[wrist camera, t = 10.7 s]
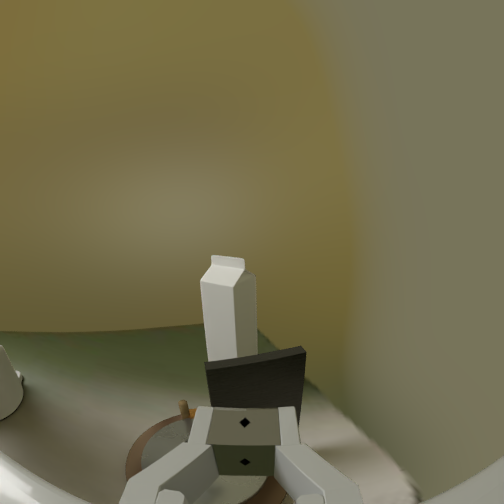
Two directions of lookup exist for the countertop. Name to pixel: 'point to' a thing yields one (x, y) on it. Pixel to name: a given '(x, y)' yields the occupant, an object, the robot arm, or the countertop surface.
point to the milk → (229, 309)
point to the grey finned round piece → (238, 396)
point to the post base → (272, 491)
